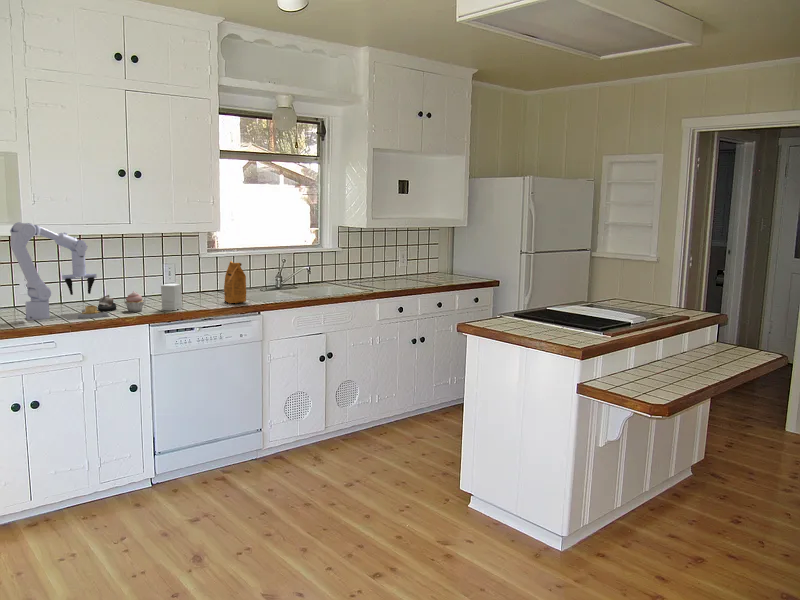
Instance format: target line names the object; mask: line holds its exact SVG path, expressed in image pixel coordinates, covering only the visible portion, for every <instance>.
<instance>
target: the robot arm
mask: <svg viewBox="0 0 800 600" xmlns="http://www.w3.org/2000/svg"><path fill="white" fill-rule="evenodd" d="M9 232H10V244H9V245H10V247H11V250H12V252H13V255H14V256H15V258H16V260H17V263H18V265H19V267H20V269H21V271H22V274H23V275H24V278H25V280H26V285H25V286H26V288H27V296H28V297H29V298H30V301H29V300H28V301H25V302H24V303H25V304H24V305H25V306H24V307H25V319H26V320H28V321H32V320H48V319H50V318H51V317H50V316H51V314H50V298H51V296H52V291H51V289H50V287H48V286H47V284H46V283H45V282H44V281H43V280H42V279H41V278H40V277H41V276H40V275H39V273H38V271H37V268H36V266H35V264H34V261H33V260H32V258H31V255H30V253H29V251H28V249H27V247H26V246H27V245H28V242H29V241H30V240H32V239H33V237H35V236H41V237H42V238H43V237H44V238H46V239H50V240H53V241H54V242H55V244H56V245H58V246H60V247H63V248H66V249H67V250H69V251H70V252H71V266H72V270H71V271H72V274H62V275H61V277H62V278H61V279H62V280H63V281H64V282H65V284H66V285H67V287H68V290H69V293H70V296H72V295H74V293H73V280H81V279H82V280H83V279H86V281H87V294H89V295H91V292H92V288H93V285H94V282H95V281H96V280H95V279H97V277H98V276H97V273H87V267H86V251H87V249H88V245H87V243H86V242H85V240H82V239H78V237H76V236H71V235H69V234H68V233H67V232H59V233H57V232H53V231H51V230H50V229H47V228H45V227H42V226H40V225H37V224H33V223H30V222H26V223H25V222H16V223H14V224H13V225H12V227H11V228H10V230H9Z"/></svg>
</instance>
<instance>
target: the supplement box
mask: <svg viewBox="0 0 800 600" xmlns="http://www.w3.org/2000/svg"><path fill="white" fill-rule="evenodd" d="M160 293H161V295H160V296H161V297H160V298H161V310H162V311H172V310H176V311H178V310H177V309H179V310H182V309H183V302H182V301H183V299H182V297H183V296H182V284H181V283H180V284H179V283H165V284H161V285H160ZM181 308H182V309H181Z"/></svg>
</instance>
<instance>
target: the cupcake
mask: <svg viewBox="0 0 800 600" xmlns="http://www.w3.org/2000/svg"><path fill="white" fill-rule="evenodd" d="M124 304H125V305H126V309H127V311H128V312H130V313H138V311H139V312H141V311H142V310H143V307H144V304H145V300H143V296H142V295H141V294H139V293H138V292H136V291H135V290H133V291H132V293H129V294H128V295H127V297H126V298H125V301H124Z"/></svg>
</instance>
